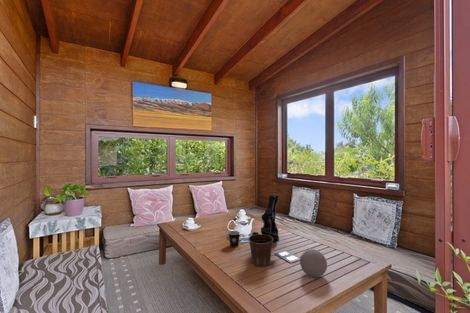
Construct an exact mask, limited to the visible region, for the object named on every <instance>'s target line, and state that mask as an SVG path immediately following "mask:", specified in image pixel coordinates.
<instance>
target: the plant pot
mask: <svg viewBox="0 0 470 313" xmlns="http://www.w3.org/2000/svg"><path fill="white" fill-rule="evenodd" d="M248 241H249V242H248V243H249V246H250V256H251V263H252V265H254V266H255V267H260V268H263V267H268V266H270V265H271V256H272V246H273V243H272V241H273V238H272V237H271V236H269V235H264V234H260V233H259V234H256V235H250V236H249V237H248Z"/></svg>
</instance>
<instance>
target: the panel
mask: <svg viewBox="0 0 470 313" xmlns="http://www.w3.org/2000/svg"><path fill="white" fill-rule="evenodd" d="M274 255H275V256H277V257H279V258H280V259H282V260H284V261H285V262H287V263H289V264H293V263H296V262H300V258H301V257H299V256H297V255H295V254H293V253H291V252H289V251H288V250H286V249H285V250H282V251H279V252H274Z"/></svg>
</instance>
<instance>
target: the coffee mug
mask: <svg viewBox="0 0 470 313" xmlns="http://www.w3.org/2000/svg"><path fill="white" fill-rule="evenodd" d="M228 236H229V237H228V238H229V246H230V247H231V248H237V247H239V243H240V242H241V241H242V240H245V235H244V234H241V233H240V231H238V230H230V231H229V232H228ZM240 236H242V237H243V238H241V239H240Z"/></svg>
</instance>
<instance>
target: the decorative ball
mask: <svg viewBox="0 0 470 313" xmlns="http://www.w3.org/2000/svg"><path fill="white" fill-rule="evenodd" d="M299 258H300V261H299V264H300V268H301V269H302V271H303V273H305V275H307V276H308V277H312V278H320V277H322V276H323V275H324V274H325V273H326V272H327V268H328V262H327V259H326V257H325V255H324V254H323V253H322V252H321V251H320V250H317V249H315V248H314V249H312V248H311V249H307V250H305V251H304V252H303V253H302V254H301V255H300V257H299Z"/></svg>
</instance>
